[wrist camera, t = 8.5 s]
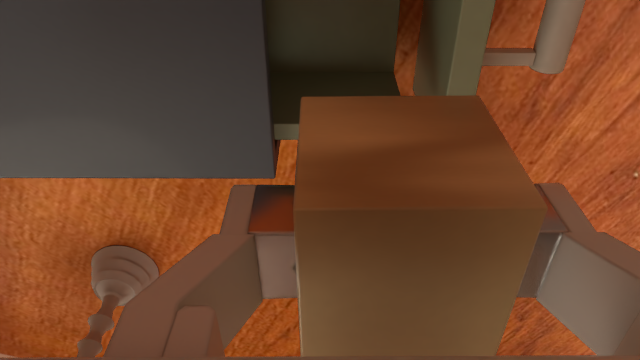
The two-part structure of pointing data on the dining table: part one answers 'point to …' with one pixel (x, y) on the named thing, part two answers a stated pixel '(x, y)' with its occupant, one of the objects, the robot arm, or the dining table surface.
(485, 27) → the drawer
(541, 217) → the block
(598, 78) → the dining table surface
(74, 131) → the cabinet
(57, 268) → the dining table surface
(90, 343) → the chalice
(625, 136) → the dining table surface
